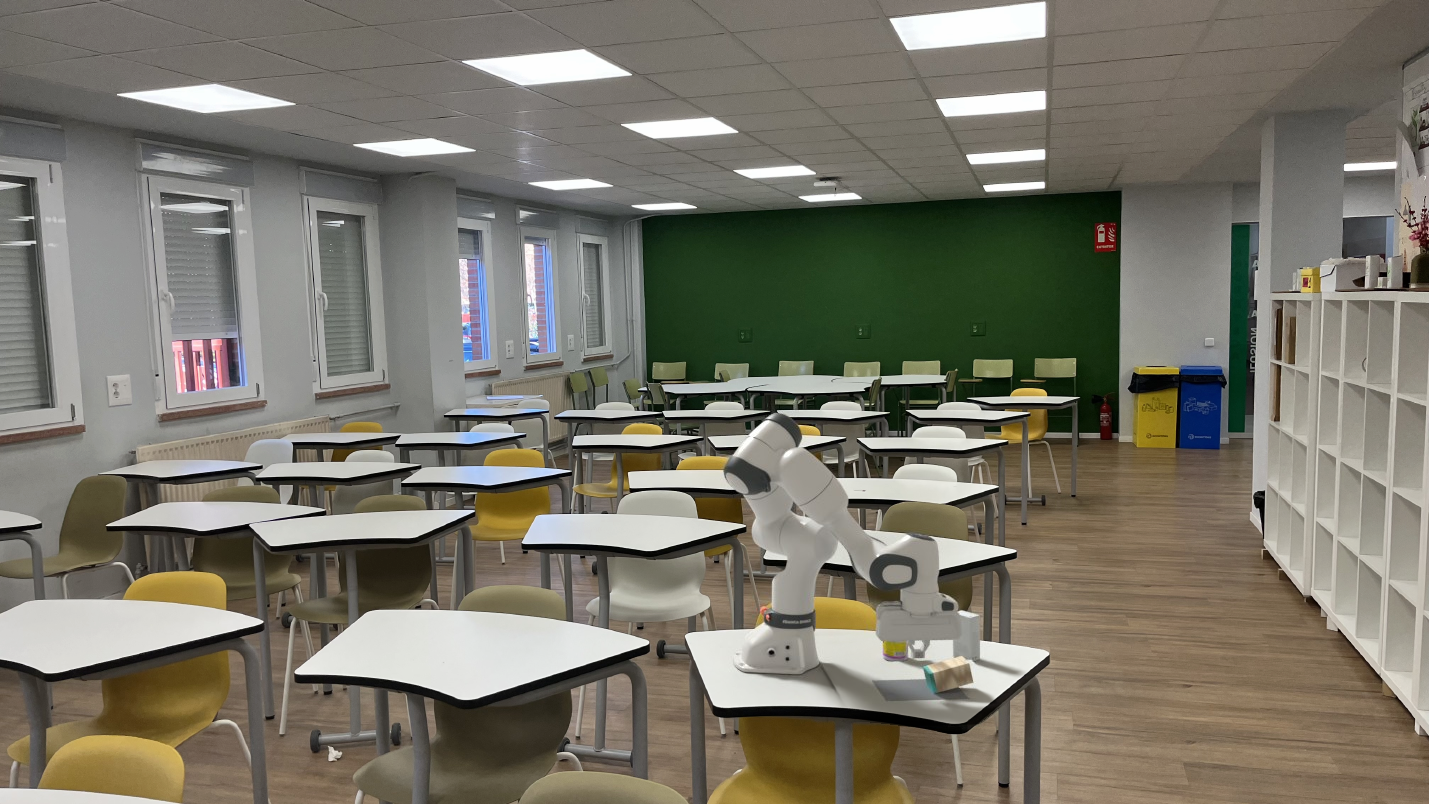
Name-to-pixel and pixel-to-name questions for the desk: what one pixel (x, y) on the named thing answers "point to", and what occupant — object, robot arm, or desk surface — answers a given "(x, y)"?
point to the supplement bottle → (895, 650)
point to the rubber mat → (914, 690)
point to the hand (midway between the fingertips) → (917, 657)
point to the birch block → (948, 674)
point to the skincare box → (968, 637)
